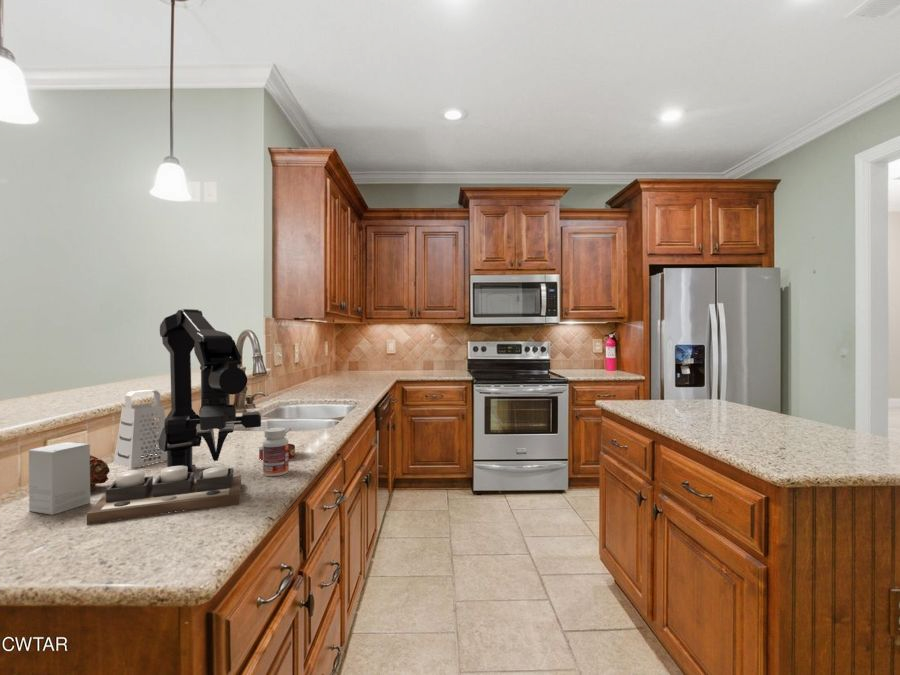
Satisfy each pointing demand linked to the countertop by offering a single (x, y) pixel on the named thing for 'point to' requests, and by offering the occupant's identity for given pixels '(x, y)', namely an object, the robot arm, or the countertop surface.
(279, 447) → the pill bottle
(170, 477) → the button middle
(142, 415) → the grater
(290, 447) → the canned food
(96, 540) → the countertop surface
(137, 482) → the button
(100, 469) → the dragon fruit
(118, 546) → the countertop surface
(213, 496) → the button board
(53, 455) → the supplement box
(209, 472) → the button
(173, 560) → the countertop surface
